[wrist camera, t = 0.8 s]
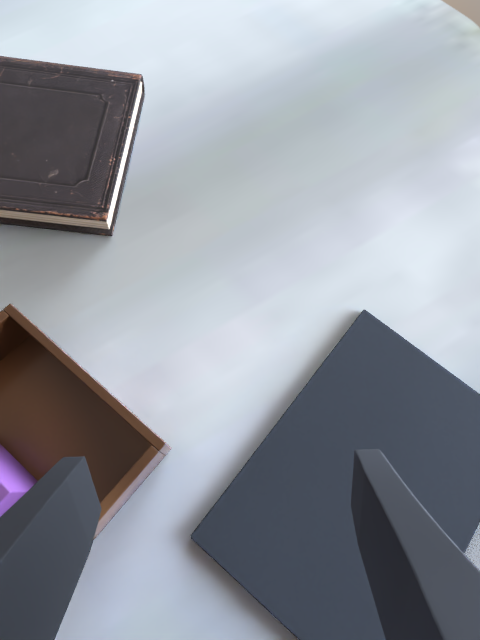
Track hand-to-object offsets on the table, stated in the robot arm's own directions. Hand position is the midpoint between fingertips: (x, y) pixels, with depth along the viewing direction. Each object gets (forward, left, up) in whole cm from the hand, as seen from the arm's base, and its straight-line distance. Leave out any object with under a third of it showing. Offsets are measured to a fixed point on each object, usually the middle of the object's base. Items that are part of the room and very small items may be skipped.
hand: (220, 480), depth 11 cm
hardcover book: (+9, +32, -17) cm, 37 cm away
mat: (+7, -8, -17) cm, 20 cm away
